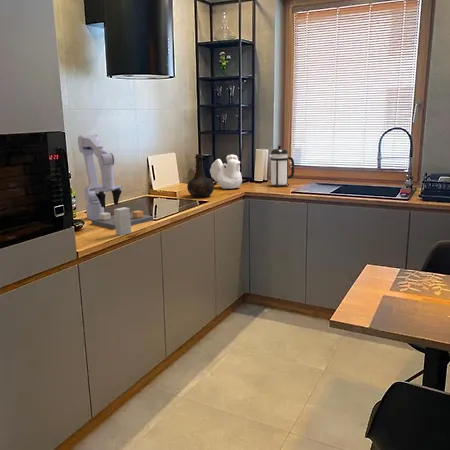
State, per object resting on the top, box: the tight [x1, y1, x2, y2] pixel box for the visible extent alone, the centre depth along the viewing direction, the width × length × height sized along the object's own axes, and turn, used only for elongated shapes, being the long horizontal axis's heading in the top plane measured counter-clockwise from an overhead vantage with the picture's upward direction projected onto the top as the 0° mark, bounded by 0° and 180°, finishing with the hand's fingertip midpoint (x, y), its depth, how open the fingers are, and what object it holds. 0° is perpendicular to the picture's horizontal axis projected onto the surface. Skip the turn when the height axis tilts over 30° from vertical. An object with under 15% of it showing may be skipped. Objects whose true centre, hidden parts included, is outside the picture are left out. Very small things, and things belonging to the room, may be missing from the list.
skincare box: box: [113, 206, 132, 237], centre depth 213 cm, size 6×4×12 cm
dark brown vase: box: [186, 153, 215, 198], centre depth 304 cm, size 18×18×28 cm
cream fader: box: [99, 211, 112, 220], centre depth 235 cm, size 4×4×3 cm
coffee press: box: [269, 144, 295, 188], centre depth 340 cm, size 17×16×30 cm
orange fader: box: [131, 210, 144, 218], centre depth 239 cm, size 4×4×3 cm
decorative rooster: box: [209, 154, 243, 190], centre depth 336 cm, size 25×16×25 cm, turn 48°
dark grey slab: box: [90, 211, 154, 230], centre depth 238 cm, size 20×24×2 cm
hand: (109, 205), depth 228 cm, fingers open, 7 cm apart
